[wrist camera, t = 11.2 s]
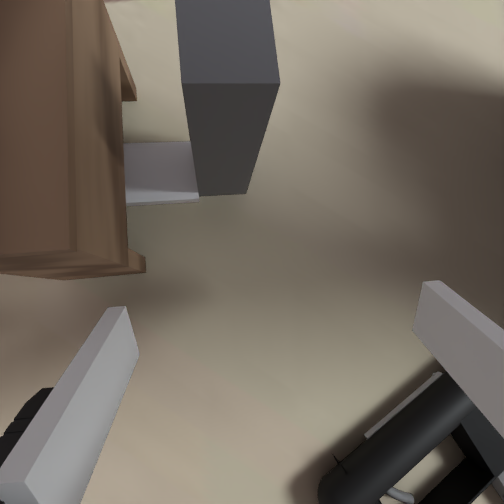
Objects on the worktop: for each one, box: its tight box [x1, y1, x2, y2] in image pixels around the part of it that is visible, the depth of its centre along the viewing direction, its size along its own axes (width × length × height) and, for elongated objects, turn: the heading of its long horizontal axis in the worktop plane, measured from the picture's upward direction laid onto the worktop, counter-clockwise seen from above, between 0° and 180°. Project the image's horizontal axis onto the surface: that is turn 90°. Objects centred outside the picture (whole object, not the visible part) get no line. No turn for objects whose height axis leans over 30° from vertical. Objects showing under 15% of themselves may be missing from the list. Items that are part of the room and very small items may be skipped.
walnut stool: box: [0, 0, 146, 280], centre depth 17 cm, size 6×16×13 cm, turn 6°
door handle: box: [318, 371, 504, 504], centre depth 22 cm, size 3×20×16 cm
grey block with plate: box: [123, 0, 280, 206], centre depth 17 cm, size 16×5×13 cm, turn 96°
